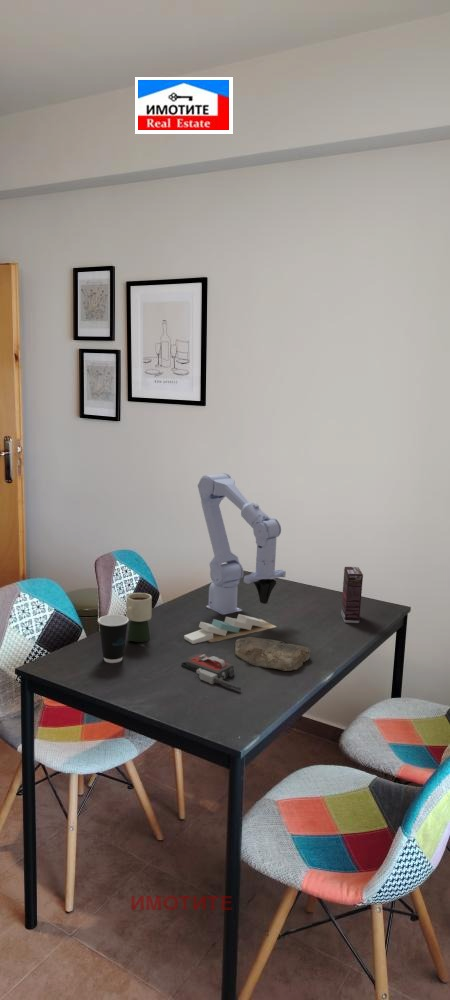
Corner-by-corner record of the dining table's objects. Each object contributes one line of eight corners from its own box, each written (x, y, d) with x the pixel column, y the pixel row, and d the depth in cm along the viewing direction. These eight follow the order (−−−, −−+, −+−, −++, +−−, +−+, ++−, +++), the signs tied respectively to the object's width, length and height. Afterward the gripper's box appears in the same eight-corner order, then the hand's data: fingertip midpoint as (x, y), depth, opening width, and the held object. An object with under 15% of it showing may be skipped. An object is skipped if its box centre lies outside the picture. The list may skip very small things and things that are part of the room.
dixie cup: (121, 667, 180) (122, 626, 178) (93, 663, 182) (93, 622, 180) (132, 655, 188) (133, 616, 186) (104, 651, 190) (105, 613, 188)
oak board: (195, 635, 204) (195, 633, 204) (260, 620, 218) (260, 618, 217) (211, 644, 197) (211, 642, 197) (276, 628, 211) (276, 626, 211)
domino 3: (250, 630, 208) (233, 626, 203) (241, 625, 211) (224, 621, 207) (252, 625, 208) (234, 621, 203) (243, 620, 211) (226, 616, 207)
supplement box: (360, 623, 218) (363, 574, 215) (344, 623, 218) (347, 573, 215) (355, 614, 226) (358, 566, 224) (340, 613, 227) (343, 566, 224)
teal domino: (238, 633, 205) (220, 629, 201) (229, 628, 208) (211, 624, 204) (239, 627, 205) (222, 623, 201) (231, 623, 208) (213, 619, 204)
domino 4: (262, 627, 210) (245, 623, 206) (253, 622, 214) (236, 619, 209) (264, 622, 210) (247, 618, 206) (255, 617, 214) (238, 613, 210)
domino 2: (225, 636, 202) (207, 631, 198) (216, 631, 206) (198, 626, 202) (227, 630, 202) (209, 626, 198) (218, 626, 206) (200, 621, 202)
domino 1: (213, 638, 200) (192, 645, 196) (204, 633, 203) (184, 640, 199) (213, 633, 199) (192, 640, 195) (204, 628, 203) (184, 635, 199)
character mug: (138, 631, 205) (138, 589, 202) (159, 636, 202) (160, 593, 199) (117, 644, 195) (117, 599, 193) (138, 649, 192) (139, 604, 190)
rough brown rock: (223, 660, 188) (291, 676, 179) (223, 642, 187) (292, 658, 178) (246, 644, 200) (312, 659, 191) (247, 627, 199) (313, 641, 190)
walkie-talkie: (175, 672, 180) (237, 695, 168) (175, 655, 179) (238, 678, 167) (197, 661, 187) (258, 683, 175) (197, 646, 186) (259, 667, 174)
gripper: (254, 565, 203) (252, 610, 205) (293, 559, 211) (290, 602, 214) (240, 559, 208) (238, 603, 211) (278, 554, 217) (275, 596, 219)
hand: (263, 602), depth 213 cm, fingers closed
